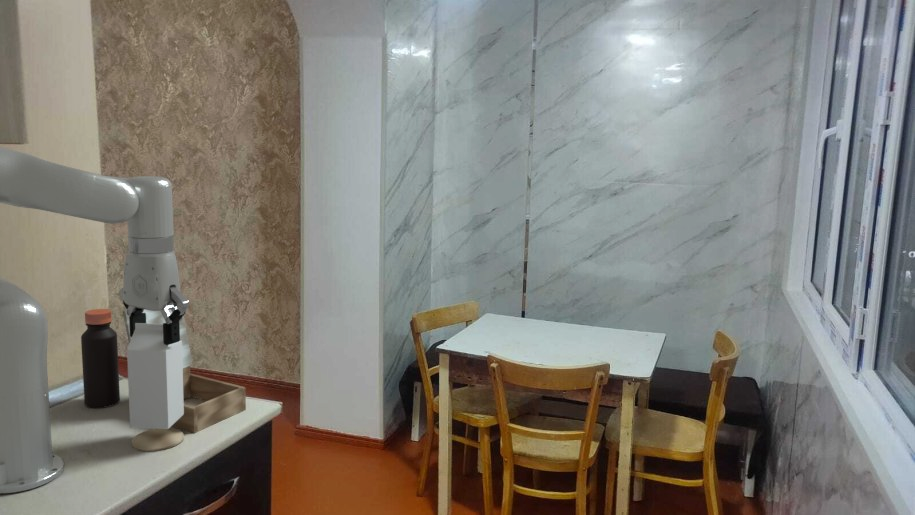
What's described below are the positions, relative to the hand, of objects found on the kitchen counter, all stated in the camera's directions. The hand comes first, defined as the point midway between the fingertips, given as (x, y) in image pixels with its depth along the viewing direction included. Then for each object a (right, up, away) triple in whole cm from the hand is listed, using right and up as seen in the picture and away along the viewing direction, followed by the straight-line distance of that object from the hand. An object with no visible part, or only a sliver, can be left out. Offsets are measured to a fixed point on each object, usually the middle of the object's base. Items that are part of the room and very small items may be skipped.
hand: (154, 338), depth 129 cm
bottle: (-20, -16, +20) cm, 33 cm away
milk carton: (-1, -16, +3) cm, 16 cm away
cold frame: (-1, -17, +18) cm, 25 cm away
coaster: (-1, -20, +3) cm, 20 cm away
